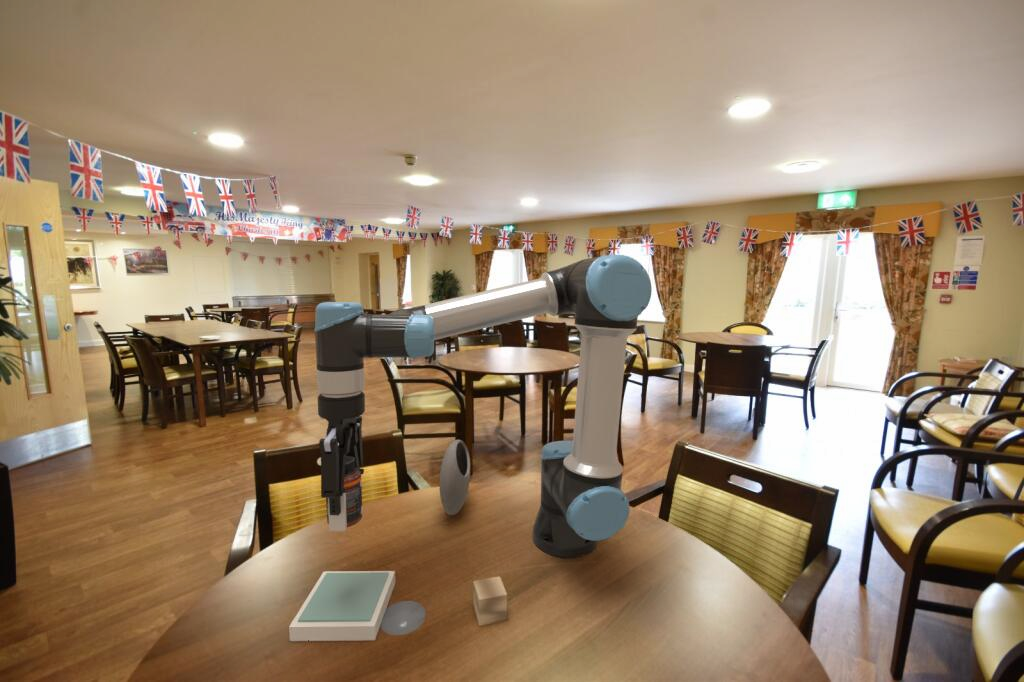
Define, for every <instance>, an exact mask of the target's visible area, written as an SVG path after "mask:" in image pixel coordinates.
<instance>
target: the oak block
mask: <svg viewBox="0 0 1024 682" xmlns="http://www.w3.org/2000/svg"><path fill="white" fill-rule="evenodd" d="M473 607H474V612H475V615H476V619H477V622H478V625H479V626H485V625H489V624H495V623H499V622H503V621H507V620H508V593H507V590H506V589H505V586H504V583H503V581H502V578H501V576H493V577H488V578H483V579H482V578H481V579H477V580H473Z"/></svg>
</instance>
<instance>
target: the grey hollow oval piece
mask: <svg viewBox="0 0 1024 682" xmlns="http://www.w3.org/2000/svg"><path fill="white" fill-rule="evenodd" d="M470 460H471V459H470V453H469V449H468V447H467V445H466V443H465V442H464V441H463V440H461V439H454V440H453V441H452V442H451V443H450V444H449V446H448V447H447V449H446V450H445V454H444V456H443V458H442V462H441V467H440V473H439V496H440V497H439V498H440V501H441V505H442V508H443V510H444V511H445V513H446V514H448V515H449V516H456V515H457V514H458V513H459V512H460V511H461V510H462V508H463V506H464V504H465V502H466V499H467V495H468V492H469V488H470V487H469V486H470V480H471V478H470V477H471V461H470Z"/></svg>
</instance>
